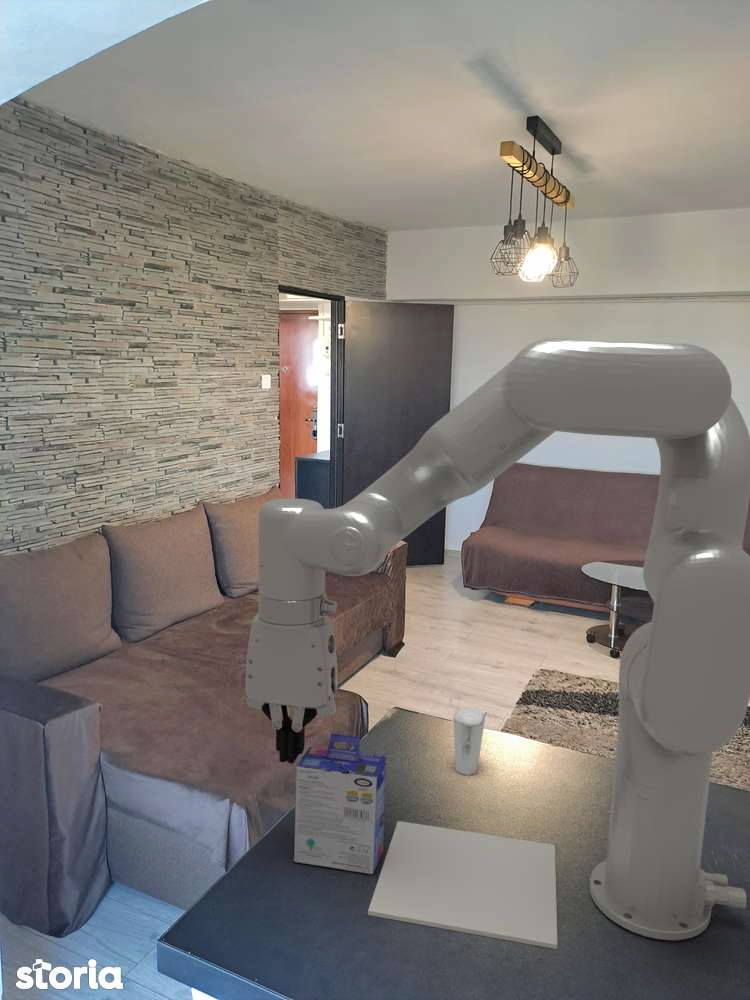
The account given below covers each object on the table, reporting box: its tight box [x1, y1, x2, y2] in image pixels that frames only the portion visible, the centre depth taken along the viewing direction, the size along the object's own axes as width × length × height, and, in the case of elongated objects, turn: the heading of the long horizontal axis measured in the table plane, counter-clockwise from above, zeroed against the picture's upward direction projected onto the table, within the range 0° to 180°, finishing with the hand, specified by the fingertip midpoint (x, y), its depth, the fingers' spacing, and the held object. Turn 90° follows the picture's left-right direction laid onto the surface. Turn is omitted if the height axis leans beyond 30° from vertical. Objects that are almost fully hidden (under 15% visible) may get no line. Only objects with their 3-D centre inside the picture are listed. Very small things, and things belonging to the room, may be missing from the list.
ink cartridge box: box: [293, 733, 387, 875], centre depth 89 cm, size 10×6×14 cm, turn 78°
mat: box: [367, 820, 558, 950], centre depth 86 cm, size 20×17×1 cm
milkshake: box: [452, 707, 488, 776], centre depth 110 cm, size 4×5×10 cm
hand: (290, 757), depth 89 cm, fingers closed
